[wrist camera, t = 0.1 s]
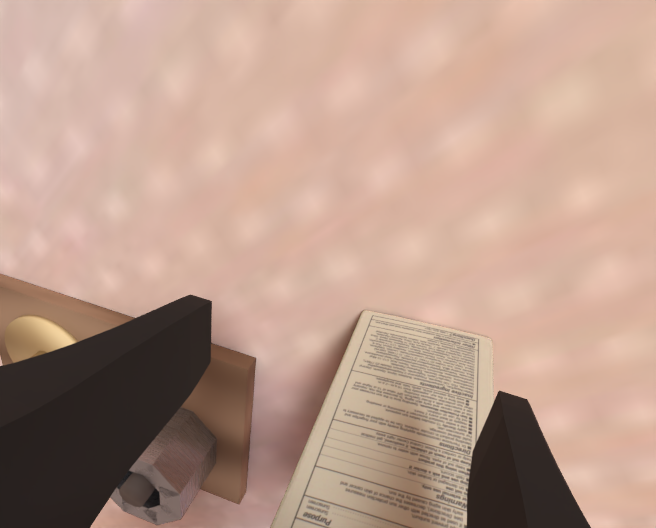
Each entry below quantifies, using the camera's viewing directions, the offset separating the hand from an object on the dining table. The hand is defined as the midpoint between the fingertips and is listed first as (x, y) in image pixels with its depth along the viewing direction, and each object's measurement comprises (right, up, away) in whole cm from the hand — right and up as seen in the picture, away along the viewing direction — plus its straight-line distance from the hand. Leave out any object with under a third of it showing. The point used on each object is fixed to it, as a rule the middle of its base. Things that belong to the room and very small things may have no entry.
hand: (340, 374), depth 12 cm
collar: (-10, -8, +19) cm, 23 cm away
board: (-14, -5, +20) cm, 24 cm away
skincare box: (+4, -2, +12) cm, 12 cm away
